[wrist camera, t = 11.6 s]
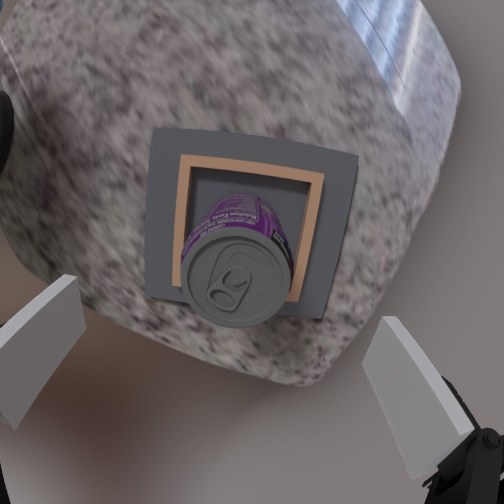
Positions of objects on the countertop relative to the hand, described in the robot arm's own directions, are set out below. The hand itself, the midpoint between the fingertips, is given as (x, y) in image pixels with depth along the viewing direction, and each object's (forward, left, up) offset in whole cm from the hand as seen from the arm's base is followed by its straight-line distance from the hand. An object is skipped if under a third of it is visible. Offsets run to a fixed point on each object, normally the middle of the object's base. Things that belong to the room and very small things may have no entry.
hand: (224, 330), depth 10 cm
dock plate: (0, 0, -18) cm, 18 cm away
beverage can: (0, 0, -17) cm, 17 cm away
